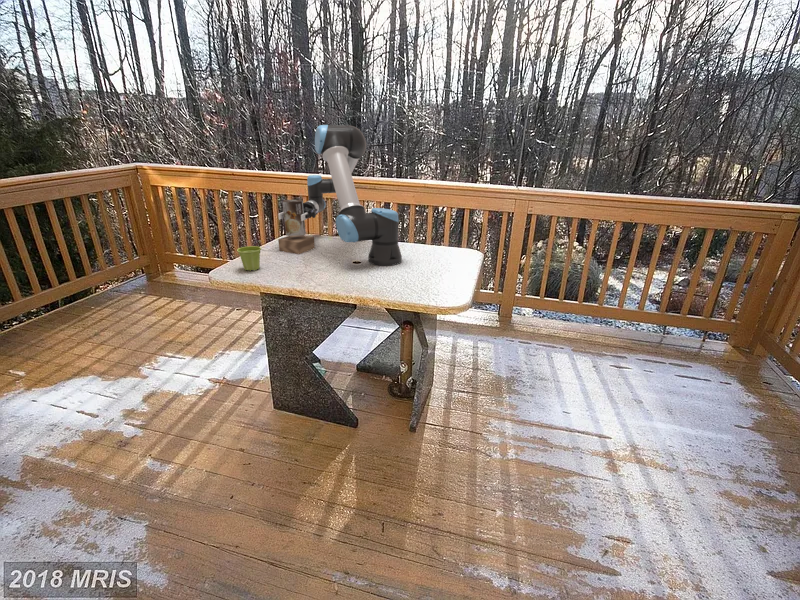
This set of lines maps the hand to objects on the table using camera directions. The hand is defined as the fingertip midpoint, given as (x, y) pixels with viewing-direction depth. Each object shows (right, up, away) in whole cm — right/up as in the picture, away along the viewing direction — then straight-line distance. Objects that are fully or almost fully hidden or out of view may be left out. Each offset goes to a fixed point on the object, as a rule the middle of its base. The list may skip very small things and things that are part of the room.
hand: (290, 217), depth 183 cm
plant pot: (-11, -26, -18) cm, 33 cm away
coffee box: (+1, -7, +7) cm, 10 cm away
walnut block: (0, -14, +10) cm, 17 cm away
